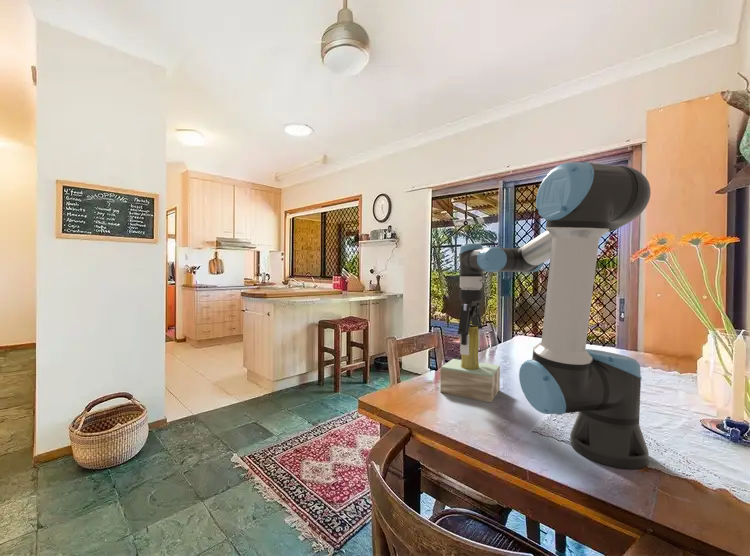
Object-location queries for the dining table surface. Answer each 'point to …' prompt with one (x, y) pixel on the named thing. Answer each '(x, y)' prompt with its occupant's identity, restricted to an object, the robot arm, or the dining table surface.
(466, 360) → the vase
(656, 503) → the dining table surface
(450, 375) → the box
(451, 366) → the lid
